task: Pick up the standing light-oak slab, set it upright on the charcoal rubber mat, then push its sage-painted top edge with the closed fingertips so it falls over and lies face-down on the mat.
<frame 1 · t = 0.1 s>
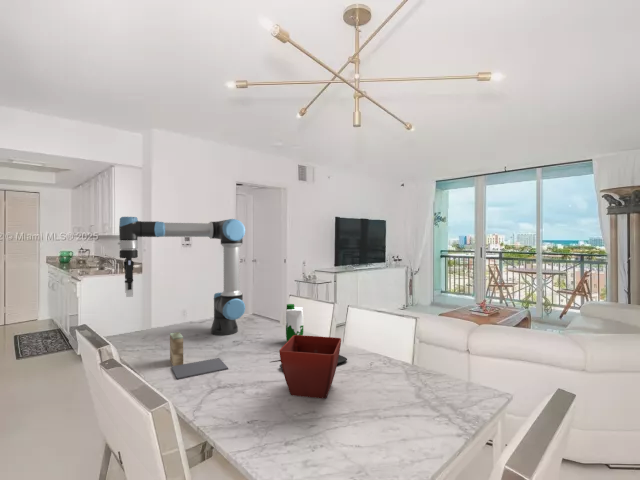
hand: (128, 294, 164), 28 cm above the table, fingers open, 13 cm apart
sushi plate: (303, 361, 156), on the table
oak slab: (176, 362, 153), on the table
plant pot: (311, 390, 126), on the table
milk carton: (294, 343, 180), on the table
rubber mat: (199, 368, 146), on the table
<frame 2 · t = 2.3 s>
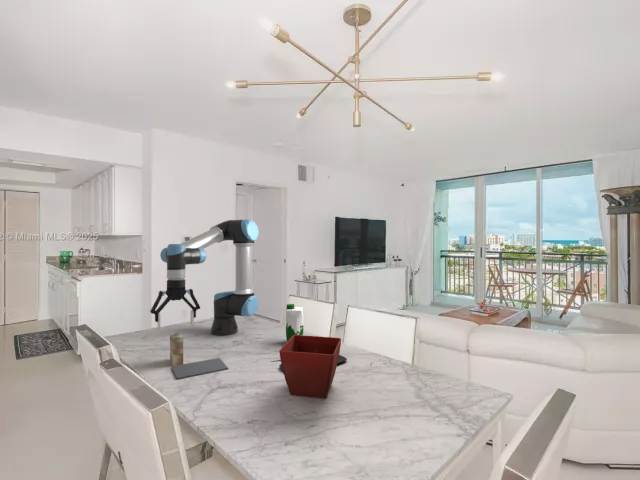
hand: (175, 327, 153), 15 cm above the table, fingers open, 13 cm apart
nothing on the table moved.
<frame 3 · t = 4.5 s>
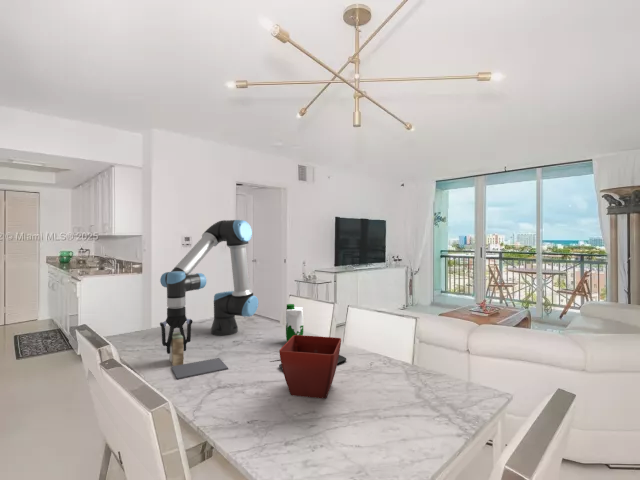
hand: (176, 359, 153), 1 cm above the table, fingers closed on oak slab, 4 cm apart
oak slab: (176, 362, 153), on the table, touching gripper
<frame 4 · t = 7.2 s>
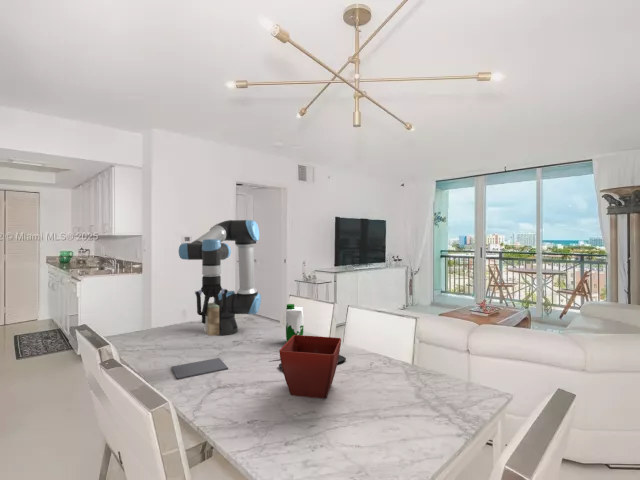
hand: (211, 329, 148), 16 cm above the table, fingers closed on oak slab, 4 cm apart
oak slab: (211, 332, 148), point 14 cm above the table, touching gripper
when the fingers open (3 cm above the table, at t = 10.0 s): oak slab stays where it is, resting on rubber mat.
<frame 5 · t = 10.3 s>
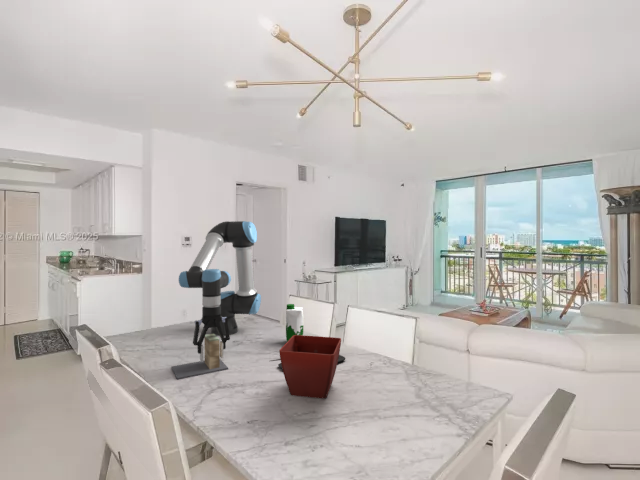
hand: (211, 358, 148), 3 cm above the table, fingers open, 8 cm apart
oak slab: (211, 364, 148), point 1 cm above the table, touching rubber mat
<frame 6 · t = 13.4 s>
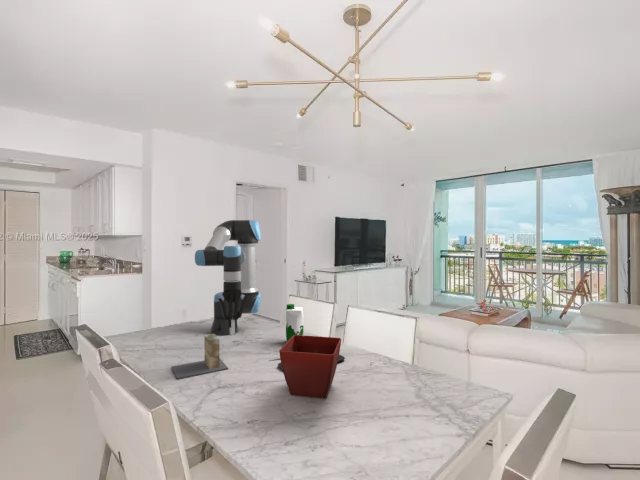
hand: (232, 334, 153), 12 cm above the table, fingers closed
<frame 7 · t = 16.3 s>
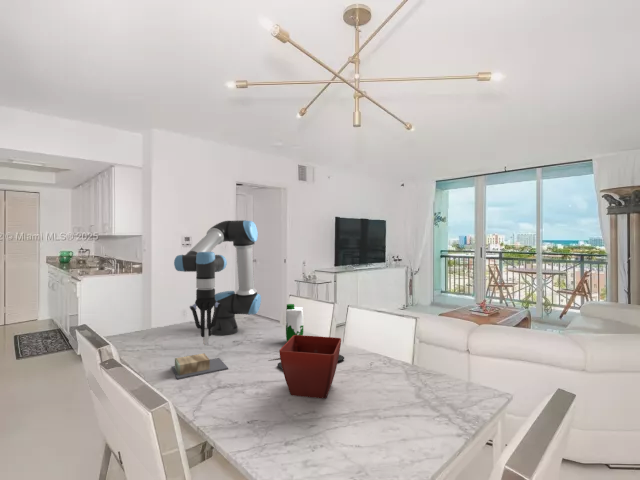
hand: (205, 343, 147), 10 cm above the table, fingers closed
oak slab: (206, 361, 147), point 3 cm above the table, tilted 90°, touching rubber mat
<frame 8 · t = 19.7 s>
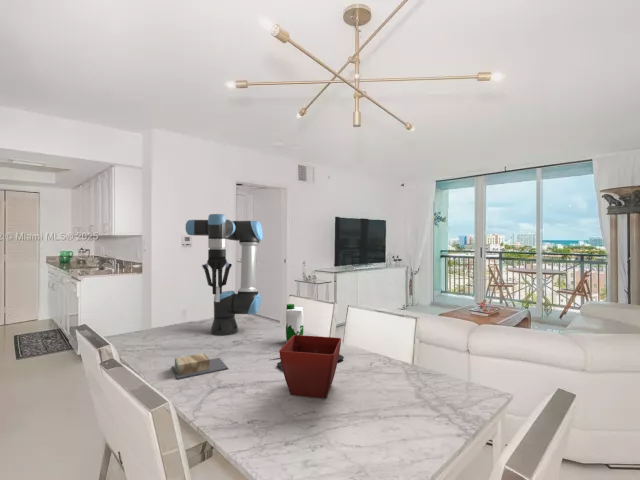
hand: (217, 301, 155), 26 cm above the table, fingers closed
at the end: oak slab tilted 90°; oak slab inside the target area on the rubber mat (3.0 cm from its centre), point 2.6 cm above the rubber mat's base; the gripper is holding nothing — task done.
